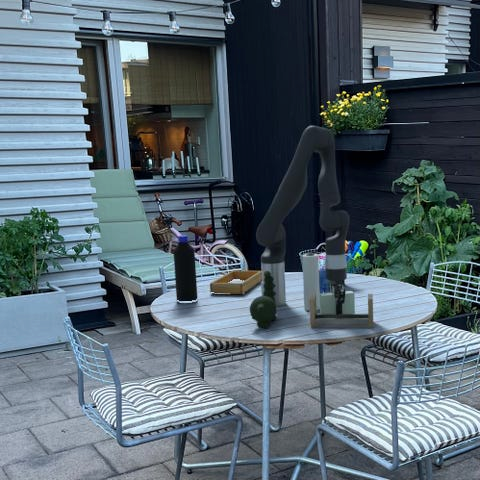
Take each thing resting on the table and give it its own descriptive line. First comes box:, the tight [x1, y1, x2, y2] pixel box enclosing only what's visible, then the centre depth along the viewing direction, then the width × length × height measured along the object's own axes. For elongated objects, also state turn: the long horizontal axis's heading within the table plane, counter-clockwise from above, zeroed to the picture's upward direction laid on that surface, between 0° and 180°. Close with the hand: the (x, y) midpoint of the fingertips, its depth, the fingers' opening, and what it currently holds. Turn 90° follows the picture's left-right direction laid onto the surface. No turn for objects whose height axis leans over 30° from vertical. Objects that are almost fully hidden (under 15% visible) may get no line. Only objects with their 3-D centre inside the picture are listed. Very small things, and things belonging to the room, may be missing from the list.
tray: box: [209, 270, 262, 295], centre depth 285 cm, size 31×15×6 cm, turn 162°
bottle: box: [173, 234, 198, 301], centre depth 261 cm, size 9×9×28 cm
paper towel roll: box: [302, 252, 320, 312], centre depth 238 cm, size 7×6×21 cm
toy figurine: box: [249, 271, 278, 329], centre depth 222 cm, size 9×19×25 cm
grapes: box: [319, 268, 331, 293], centre depth 261 cm, size 12×7×12 cm, turn 78°
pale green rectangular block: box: [319, 290, 356, 314], centre depth 225 cm, size 12×4×9 cm, turn 99°
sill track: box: [309, 293, 374, 329], centre depth 215 cm, size 21×8×10 cm, turn 79°
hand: (337, 312), depth 226 cm, fingers closed on pale green rectangular block, 3 cm apart
